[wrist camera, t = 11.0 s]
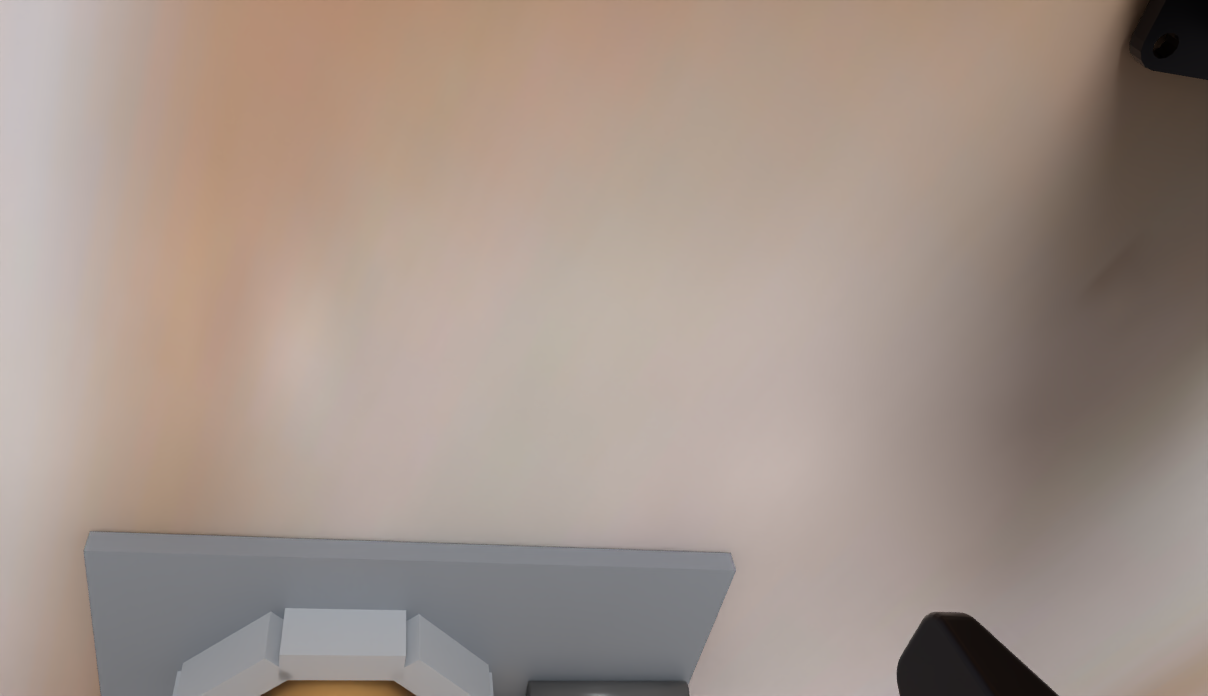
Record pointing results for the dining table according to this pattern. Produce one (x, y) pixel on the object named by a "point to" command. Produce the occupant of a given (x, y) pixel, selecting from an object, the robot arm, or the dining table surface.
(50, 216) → the dining table surface
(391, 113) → the dining table surface
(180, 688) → the junction socket
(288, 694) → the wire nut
